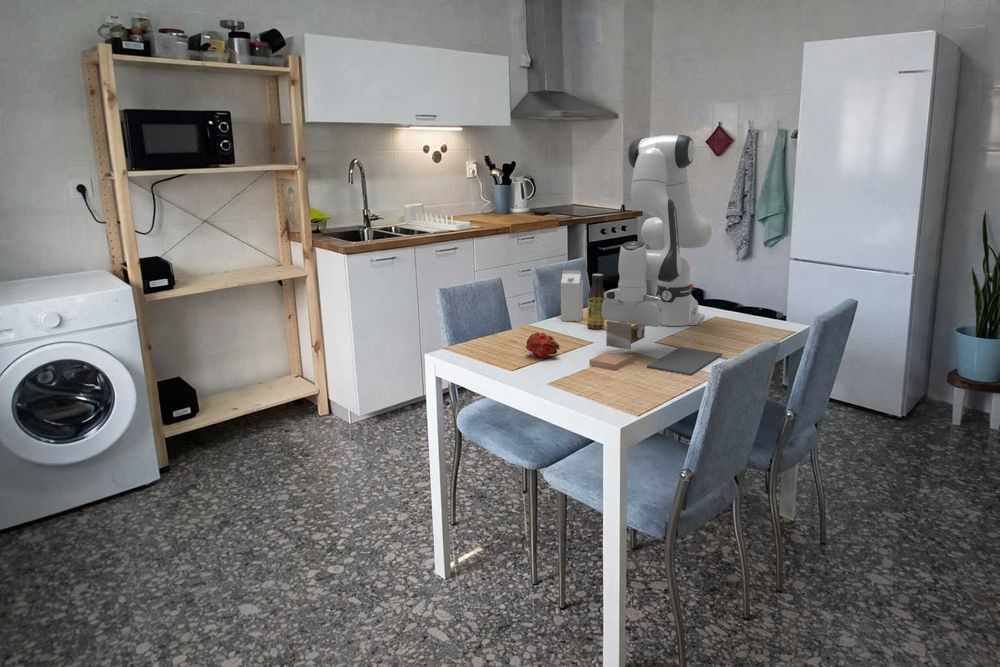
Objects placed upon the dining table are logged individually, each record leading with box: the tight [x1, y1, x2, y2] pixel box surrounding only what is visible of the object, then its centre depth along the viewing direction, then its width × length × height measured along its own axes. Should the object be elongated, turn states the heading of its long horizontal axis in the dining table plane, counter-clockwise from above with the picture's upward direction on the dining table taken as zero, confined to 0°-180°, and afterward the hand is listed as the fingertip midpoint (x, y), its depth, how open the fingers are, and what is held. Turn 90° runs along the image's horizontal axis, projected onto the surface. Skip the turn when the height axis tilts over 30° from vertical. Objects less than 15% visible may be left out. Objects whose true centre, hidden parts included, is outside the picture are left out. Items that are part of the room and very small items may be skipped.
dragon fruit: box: [525, 331, 561, 359], centre depth 225 cm, size 8×8×12 cm
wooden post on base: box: [605, 320, 646, 351], centre depth 223 cm, size 15×8×8 cm, turn 142°
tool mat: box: [646, 346, 723, 376], centre depth 216 cm, size 24×14×1 cm, turn 142°
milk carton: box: [560, 270, 584, 322], centre depth 270 cm, size 7×7×19 cm
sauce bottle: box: [586, 273, 606, 330], centre depth 256 cm, size 7×6×20 cm
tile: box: [588, 350, 634, 371], centre depth 217 cm, size 2×9×11 cm
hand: (631, 336), depth 225 cm, fingers closed on wooden post on base, 3 cm apart
